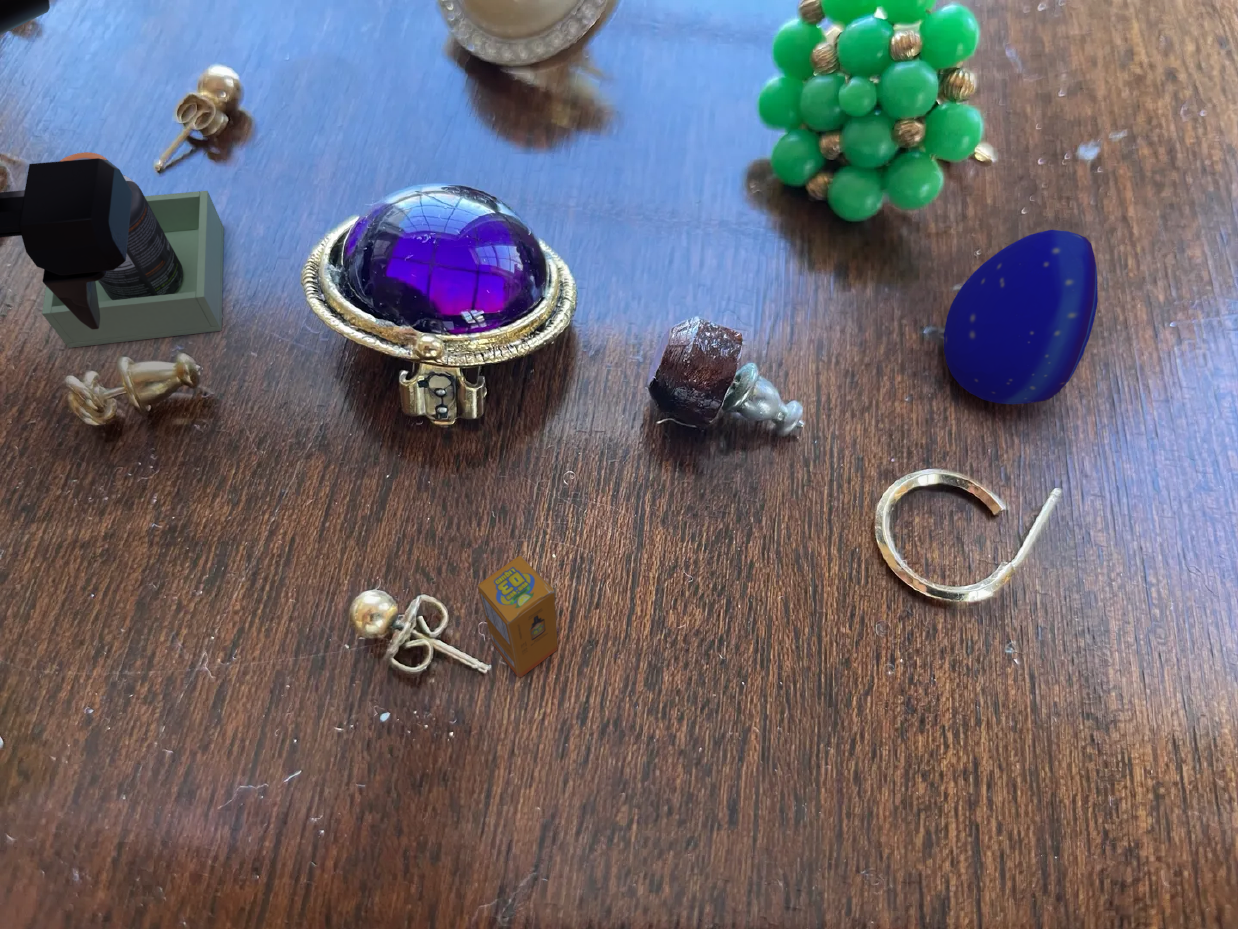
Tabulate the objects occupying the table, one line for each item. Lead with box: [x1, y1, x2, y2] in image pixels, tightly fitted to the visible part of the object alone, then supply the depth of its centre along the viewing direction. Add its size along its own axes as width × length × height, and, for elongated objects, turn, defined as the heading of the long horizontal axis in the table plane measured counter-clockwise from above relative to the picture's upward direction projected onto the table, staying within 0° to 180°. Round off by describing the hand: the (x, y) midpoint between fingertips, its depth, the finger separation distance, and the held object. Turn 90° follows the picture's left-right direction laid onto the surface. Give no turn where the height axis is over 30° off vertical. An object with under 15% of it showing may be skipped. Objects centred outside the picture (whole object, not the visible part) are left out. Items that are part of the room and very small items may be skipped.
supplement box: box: [477, 555, 559, 678], centre depth 53 cm, size 3×3×10 cm
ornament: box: [943, 229, 1099, 405], centre depth 65 cm, size 11×9×15 cm
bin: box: [41, 190, 225, 349], centre depth 69 cm, size 11×11×4 cm
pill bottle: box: [59, 151, 183, 300], centre depth 65 cm, size 6×6×11 cm
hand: (13, 332), depth 52 cm, fingers open, 9 cm apart
